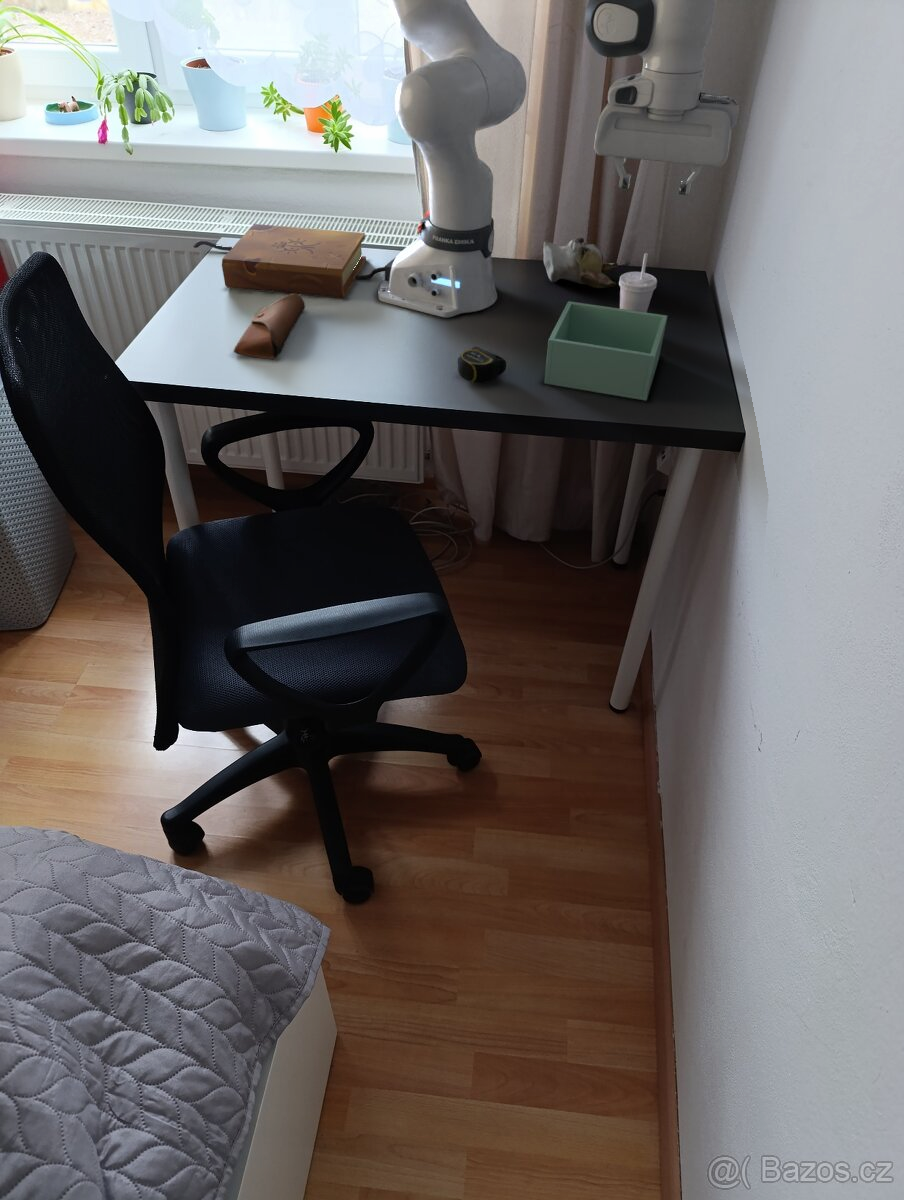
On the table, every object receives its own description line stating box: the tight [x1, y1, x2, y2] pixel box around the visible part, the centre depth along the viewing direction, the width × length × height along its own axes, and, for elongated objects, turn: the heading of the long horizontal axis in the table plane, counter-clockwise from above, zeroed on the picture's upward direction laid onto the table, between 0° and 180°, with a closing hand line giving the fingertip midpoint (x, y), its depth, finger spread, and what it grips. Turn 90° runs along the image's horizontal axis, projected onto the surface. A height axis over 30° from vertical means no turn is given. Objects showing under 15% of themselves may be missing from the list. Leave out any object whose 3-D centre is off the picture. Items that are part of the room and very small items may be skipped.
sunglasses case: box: [233, 293, 306, 360], centre depth 145 cm, size 18×7×7 cm, turn 174°
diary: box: [221, 223, 367, 299], centre depth 162 cm, size 23×19×6 cm
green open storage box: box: [544, 300, 668, 401], centre depth 136 cm, size 17×15×8 cm
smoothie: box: [618, 252, 658, 313], centre depth 143 cm, size 6×6×14 cm
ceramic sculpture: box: [542, 237, 619, 289], centre depth 160 cm, size 11×9×15 cm
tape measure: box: [457, 345, 507, 384], centre depth 135 cm, size 7×7×4 cm
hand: (653, 190), depth 131 cm, fingers open, 8 cm apart
